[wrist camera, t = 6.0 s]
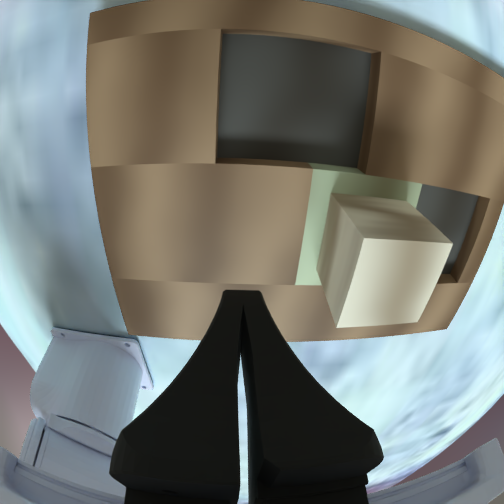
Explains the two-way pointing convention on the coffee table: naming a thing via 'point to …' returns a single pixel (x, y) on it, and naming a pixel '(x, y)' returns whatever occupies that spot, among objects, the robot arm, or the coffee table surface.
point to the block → (378, 260)
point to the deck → (278, 154)
